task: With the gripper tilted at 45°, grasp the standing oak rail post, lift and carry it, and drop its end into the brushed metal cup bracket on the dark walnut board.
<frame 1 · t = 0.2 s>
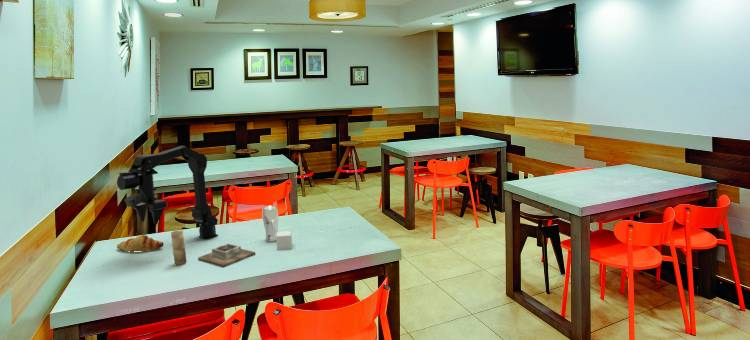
hand: (149, 223, 194), 14 cm above the table, tool pointing down, fingers open, 9 cm apart
croissant: (141, 250, 206), on the table
cup bracket: (227, 257, 193), on the table
beer glass: (272, 240, 213), on the table
light grey cube: (284, 247, 203), on the table
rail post: (180, 263, 187), on the table
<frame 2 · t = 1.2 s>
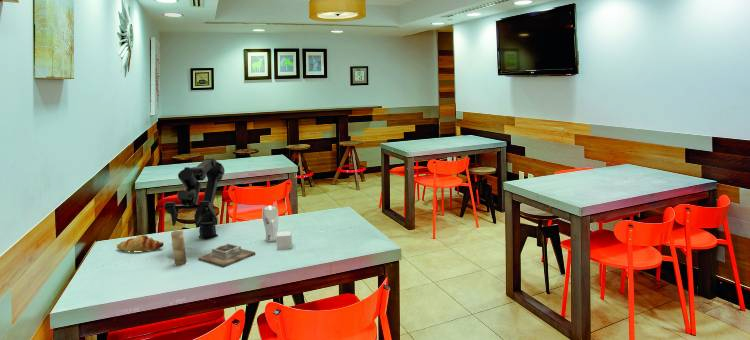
hand: (184, 225, 193), 13 cm above the table, tool tilted 45°, fingers open, 9 cm apart
nothing on the table moved.
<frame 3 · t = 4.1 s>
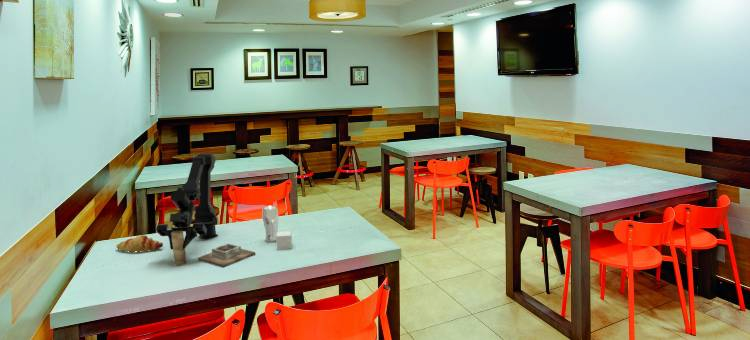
hand: (177, 248, 185), 7 cm above the table, tool tilted 45°, fingers closed on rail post, 4 cm apart
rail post: (180, 263, 187), on the table, touching gripper
everything else where it was.
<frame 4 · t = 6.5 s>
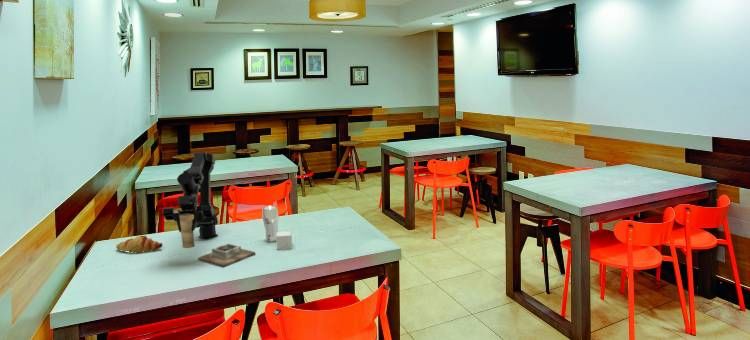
hand: (186, 231, 184), 13 cm above the table, tool tilted 45°, fingers closed on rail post, 4 cm apart
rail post: (188, 246, 187), point 7 cm above the table, touching gripper
everything else where it was.
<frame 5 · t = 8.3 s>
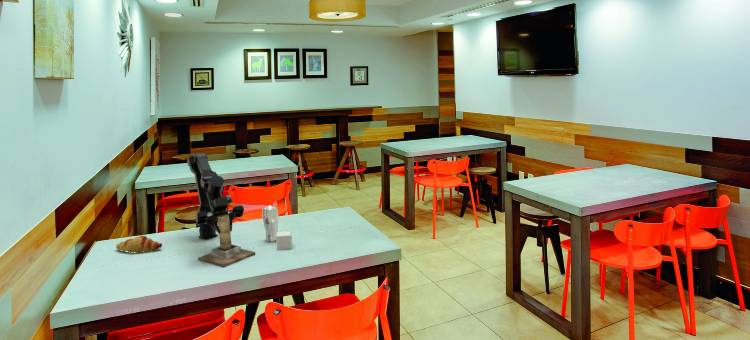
hand: (225, 232, 189), 11 cm above the table, tool tilted 45°, fingers closed on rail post, 4 cm apart
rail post: (226, 246, 192), point 5 cm above the table, touching gripper
everything else where it was.
when the fingers open (9 cm above the table, at t = 9.1 s): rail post drops 1 cm, resting on cup bracket.
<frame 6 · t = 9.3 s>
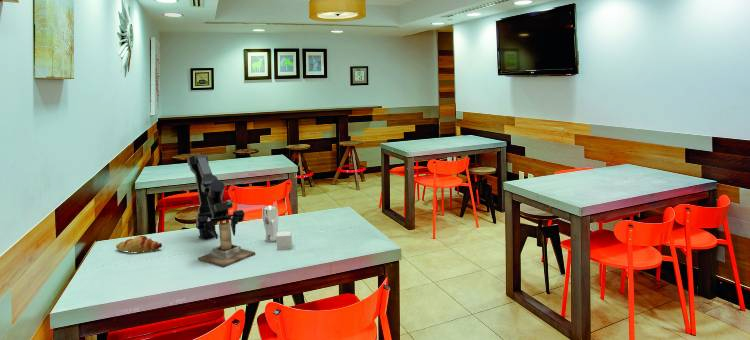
hand: (225, 236, 190), 9 cm above the table, tool tilted 45°, fingers open, 7 cm apart
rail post: (226, 254, 192), point 1 cm above the table, touching cup bracket
everything else where it was.
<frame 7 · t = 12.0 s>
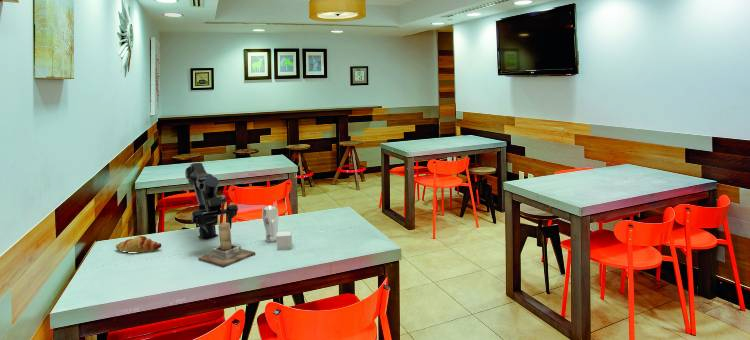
hand: (219, 230, 198), 9 cm above the table, tool tilted 45°, fingers open, 9 cm apart
nothing on the table moved.
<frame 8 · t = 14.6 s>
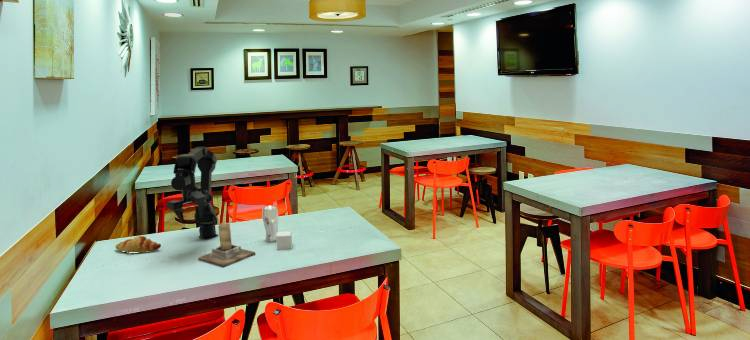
hand: (192, 220, 201), 13 cm above the table, tool pointing down, fingers open, 9 cm apart
at the end: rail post 0.0 cm off-centre on the cup bracket, point 1.0 cm above the cup bracket's base; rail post tilted 0°; the gripper is holding nothing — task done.
